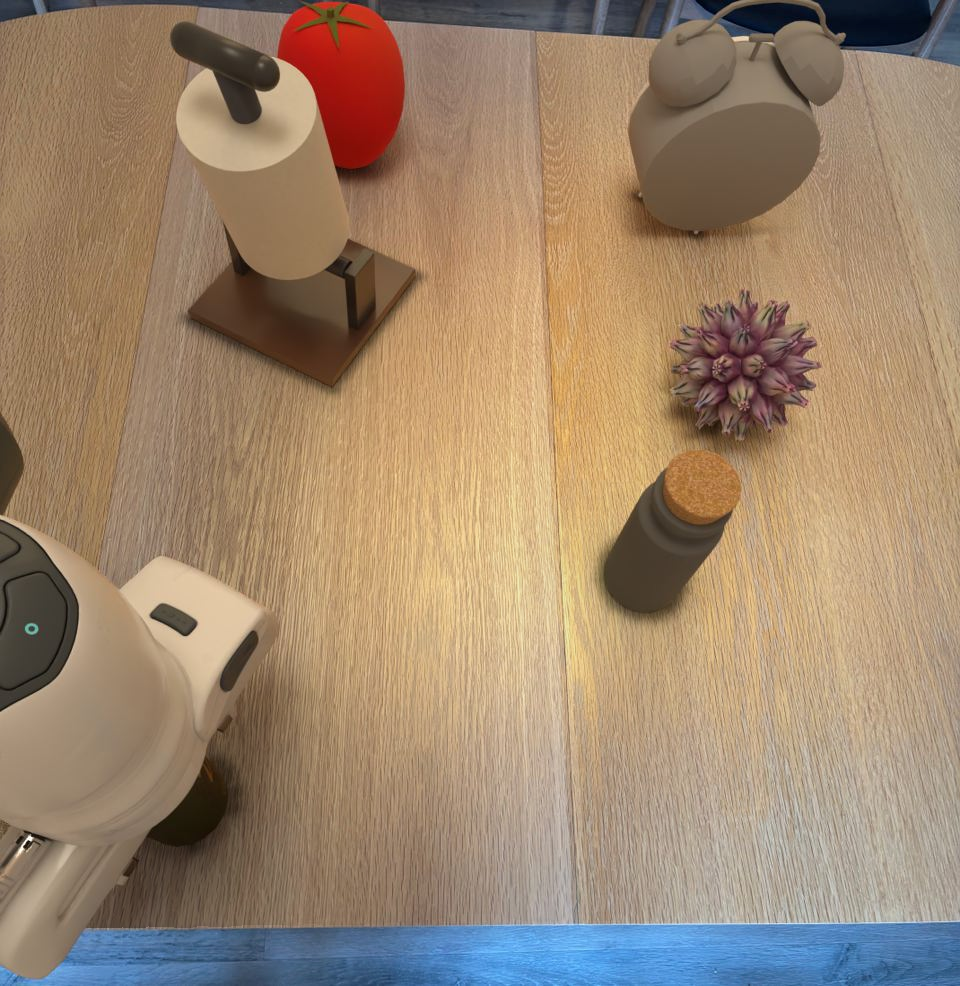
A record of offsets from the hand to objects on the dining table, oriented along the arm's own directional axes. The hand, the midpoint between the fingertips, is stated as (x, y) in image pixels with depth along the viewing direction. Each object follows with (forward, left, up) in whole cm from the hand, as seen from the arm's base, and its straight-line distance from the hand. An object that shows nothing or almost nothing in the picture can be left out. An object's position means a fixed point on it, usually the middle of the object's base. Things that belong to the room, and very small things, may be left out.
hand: (172, 788), depth 50 cm
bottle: (+20, +29, -5) cm, 35 cm away
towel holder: (-16, +32, +10) cm, 37 cm away
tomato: (-23, +57, -5) cm, 62 cm away
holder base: (-16, +39, -5) cm, 42 cm away
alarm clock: (+10, +67, -5) cm, 68 cm away
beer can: (0, 0, -5) cm, 5 cm away
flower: (+20, +47, -5) cm, 51 cm away
